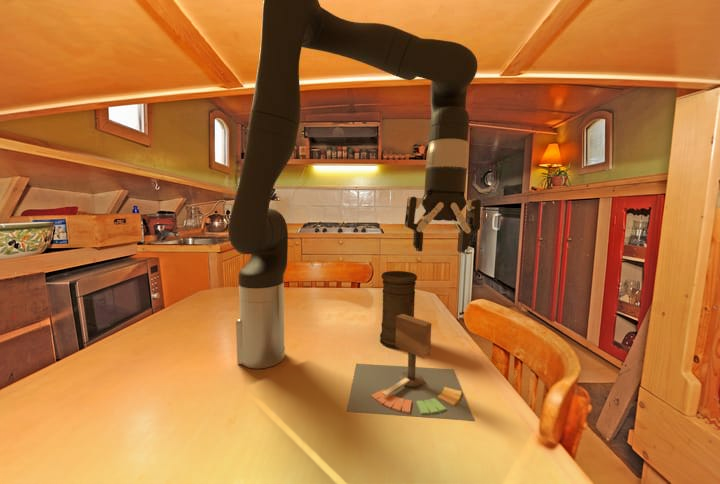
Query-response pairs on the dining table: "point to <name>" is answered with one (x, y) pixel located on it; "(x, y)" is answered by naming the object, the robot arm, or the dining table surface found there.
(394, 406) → the dial board
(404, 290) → the container
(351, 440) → the dining table surface
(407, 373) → the peg knob
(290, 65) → the robot arm
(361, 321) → the dining table surface
